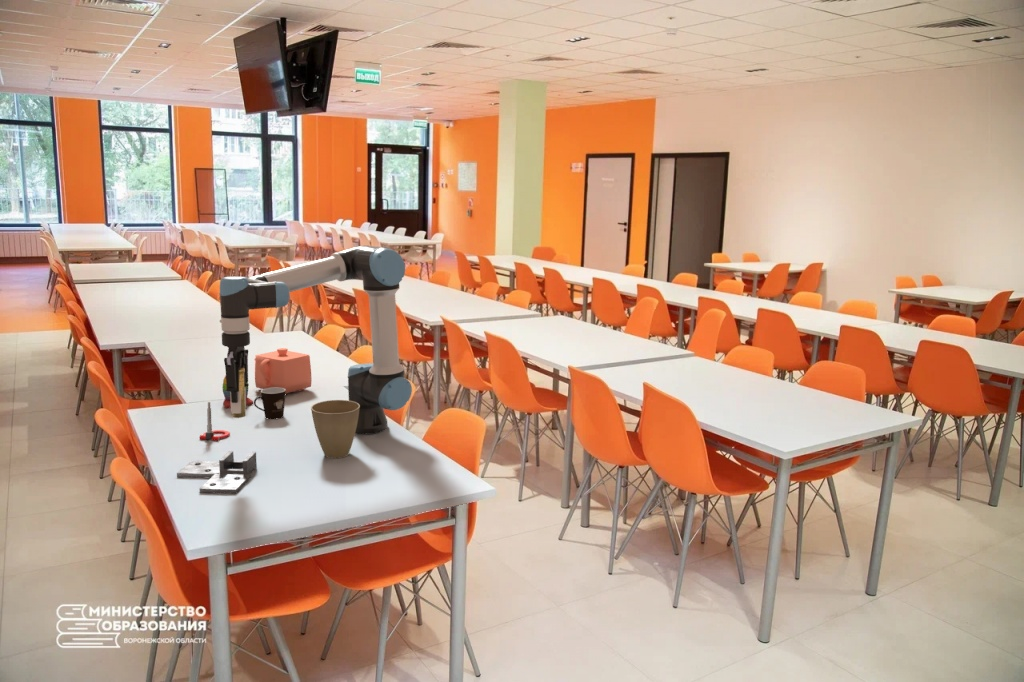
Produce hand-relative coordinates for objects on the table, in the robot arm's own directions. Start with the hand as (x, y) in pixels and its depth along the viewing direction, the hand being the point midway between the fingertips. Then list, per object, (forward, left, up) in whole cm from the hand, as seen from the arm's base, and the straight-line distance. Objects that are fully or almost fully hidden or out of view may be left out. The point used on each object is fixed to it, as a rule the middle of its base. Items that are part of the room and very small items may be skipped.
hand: (238, 410), depth 219 cm
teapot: (+18, -94, -19) cm, 98 cm away
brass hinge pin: (0, 0, -2) cm, 2 cm away
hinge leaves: (+6, +5, -19) cm, 21 cm away
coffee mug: (+9, -55, -19) cm, 59 cm away
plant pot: (-24, -17, -19) cm, 35 cm away
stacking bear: (+27, -71, -19) cm, 79 cm away
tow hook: (+20, -32, -19) cm, 42 cm away
